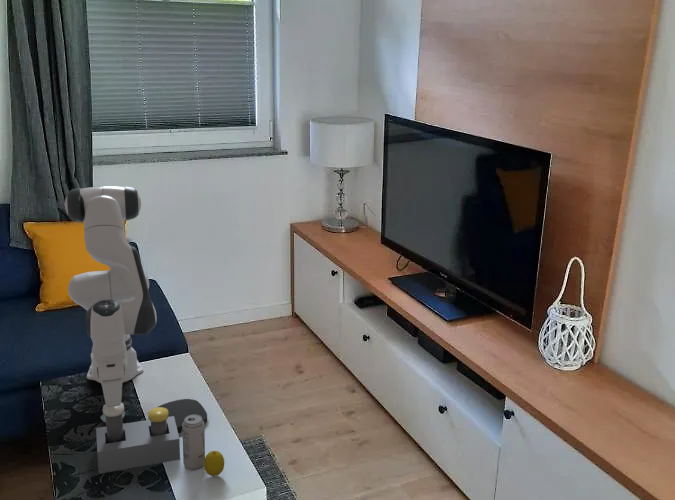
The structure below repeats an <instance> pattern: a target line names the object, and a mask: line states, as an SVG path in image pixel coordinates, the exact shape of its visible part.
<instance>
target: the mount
mask: <svg viewBox="0 0 675 500" xmlns="http://www.w3.org/2000/svg"><path fill="white" fill-rule="evenodd" d="M166 420H167V434H164V435H157V436H151V421H150V420H149V419H146V420H140V421H139V420H138V421H134V422H133V421H132V422H126V423H123V435H124V441H120V442H114V443H108V442H107V429H106V426H101V427H95V430H96V431H95V434H96V451H97V452H96V453H97V465H98V474H99V475H101V474H104V473H111V472H117V471H123V470H127V469H128V468H129V469H134V468H133V467H135V468H139V466H140V467H145V465H146V466H150V465H156V464H163V463H167V462H175V461H180V460H181V447H180V444H181V443H180V442H181V441H180V435H179V433H178V431H177V426H176V422H175V418H174V416H171V417H168V418H167V419H166ZM129 469H128V470H129Z"/></svg>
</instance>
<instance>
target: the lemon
mask: <svg viewBox="0 0 675 500" xmlns="http://www.w3.org/2000/svg"><path fill="white" fill-rule="evenodd" d="M203 467H204V470H205V473H206V474H207V475H209V476H211V477H216V476H218V475H221V473H222V472H223V470H224V468H225V458H224V456H223V454H222V453H221V452H220V451H218V450H212V451H209V452H208V453H207V454H205V460H204V465H203Z"/></svg>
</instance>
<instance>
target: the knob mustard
mask: <svg viewBox="0 0 675 500" xmlns="http://www.w3.org/2000/svg"><path fill="white" fill-rule="evenodd" d="M147 418H148V419H147V420H150V421H151V436H157V435H164V434H167V420H166V419H167V418H168V410H167V409H166V408H163V407H158V406H157V407H154V408H152V409H150V410H149V411H148V413H147Z"/></svg>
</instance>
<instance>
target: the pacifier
mask: <svg viewBox="0 0 675 500" xmlns="http://www.w3.org/2000/svg"><path fill="white" fill-rule="evenodd" d="M125 416H126V412H125V411H124V412H123V413H122V419H124V418H125ZM100 419H101V421H102V422H103V423H106V416H105V415H104V414H102V415H101V416H100Z"/></svg>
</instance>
